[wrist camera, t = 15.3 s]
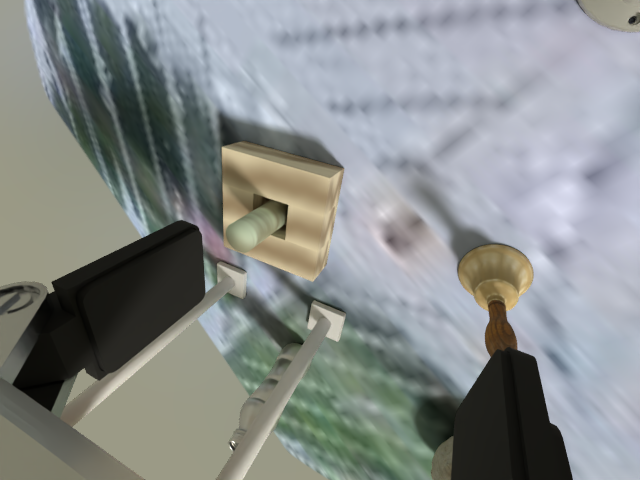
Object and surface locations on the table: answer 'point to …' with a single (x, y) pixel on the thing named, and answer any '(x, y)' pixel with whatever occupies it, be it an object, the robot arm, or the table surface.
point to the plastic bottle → (264, 393)
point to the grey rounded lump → (443, 461)
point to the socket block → (289, 188)
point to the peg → (256, 226)
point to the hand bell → (496, 288)
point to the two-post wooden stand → (232, 474)
